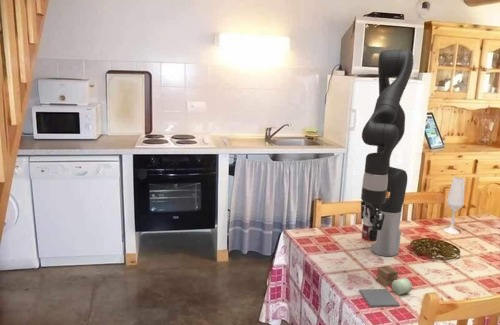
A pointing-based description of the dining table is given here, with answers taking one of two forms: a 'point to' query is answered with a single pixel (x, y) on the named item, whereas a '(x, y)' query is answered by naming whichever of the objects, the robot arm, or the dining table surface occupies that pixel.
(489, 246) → the dining table surface
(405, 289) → the green tub
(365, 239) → the pill bottle
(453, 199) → the champagne flute
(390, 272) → the walnut cube
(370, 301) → the plate
